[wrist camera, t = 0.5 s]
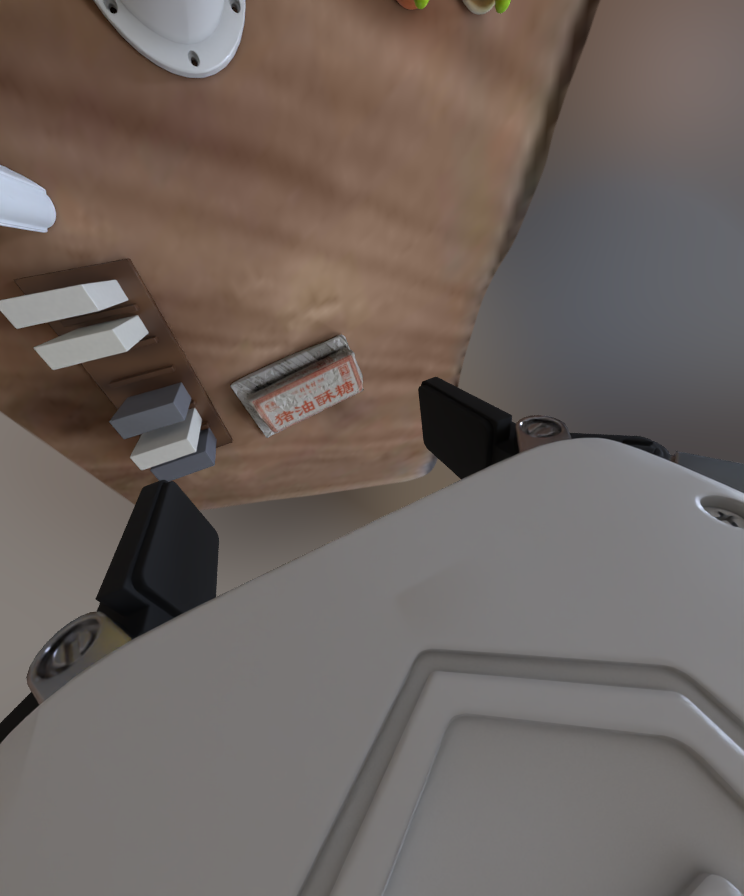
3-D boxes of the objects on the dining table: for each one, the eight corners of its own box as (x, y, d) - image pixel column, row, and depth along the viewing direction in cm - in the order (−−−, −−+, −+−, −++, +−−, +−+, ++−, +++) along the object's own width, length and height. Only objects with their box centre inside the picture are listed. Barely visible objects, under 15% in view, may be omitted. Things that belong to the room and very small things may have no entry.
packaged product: (352, 337, 39) (372, 398, 45) (341, 331, 42) (361, 387, 49) (228, 394, 36) (268, 450, 42) (228, 382, 40) (265, 434, 46)
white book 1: (50, 292, 28) (-9, 301, 21) (116, 279, 30) (81, 284, 23) (66, 313, 30) (15, 329, 23) (129, 300, 31) (99, 311, 24)
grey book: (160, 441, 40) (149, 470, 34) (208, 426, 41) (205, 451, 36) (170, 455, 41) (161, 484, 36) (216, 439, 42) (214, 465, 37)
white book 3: (147, 421, 38) (129, 457, 31) (194, 407, 39) (187, 438, 32) (157, 433, 39) (141, 470, 32) (202, 419, 40) (196, 451, 33)
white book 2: (77, 328, 30) (32, 347, 23) (138, 314, 32) (112, 329, 25) (91, 346, 32) (52, 370, 25) (149, 333, 33) (127, 351, 26)
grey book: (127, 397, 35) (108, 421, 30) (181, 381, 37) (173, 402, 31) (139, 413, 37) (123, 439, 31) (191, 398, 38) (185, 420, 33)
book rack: (18, 279, 28) (5, 280, 26) (130, 258, 30) (124, 258, 28) (164, 462, 42) (161, 470, 40) (232, 439, 44) (232, 446, 43)
